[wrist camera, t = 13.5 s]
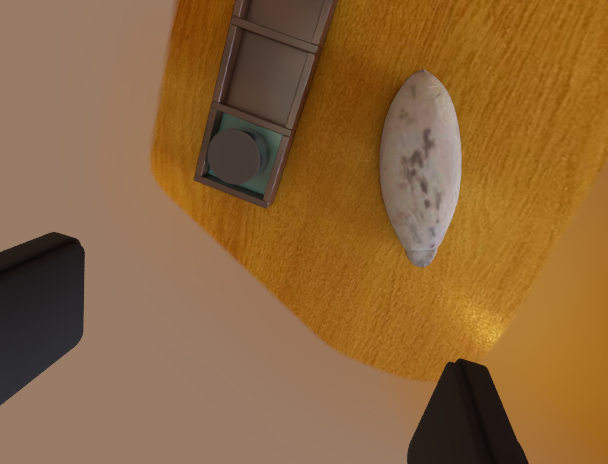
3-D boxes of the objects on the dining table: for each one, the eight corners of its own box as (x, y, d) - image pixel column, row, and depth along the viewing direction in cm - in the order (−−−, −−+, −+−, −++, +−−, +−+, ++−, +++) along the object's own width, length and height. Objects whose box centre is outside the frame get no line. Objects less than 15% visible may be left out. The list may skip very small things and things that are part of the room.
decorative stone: (386, 261, 34) (387, 277, 31) (372, 79, 29) (371, 76, 26) (458, 257, 32) (467, 273, 29) (454, 66, 28) (464, 61, 25)
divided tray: (272, 203, 34) (266, 209, 32) (203, 176, 34) (193, 180, 33) (351, -43, 27) (349, -54, 25) (263, -73, 28) (255, -86, 26)
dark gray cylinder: (236, 116, 32) (222, 117, 29) (279, 145, 32) (269, 149, 29) (213, 160, 33) (198, 165, 30) (254, 188, 33) (243, 195, 30)
